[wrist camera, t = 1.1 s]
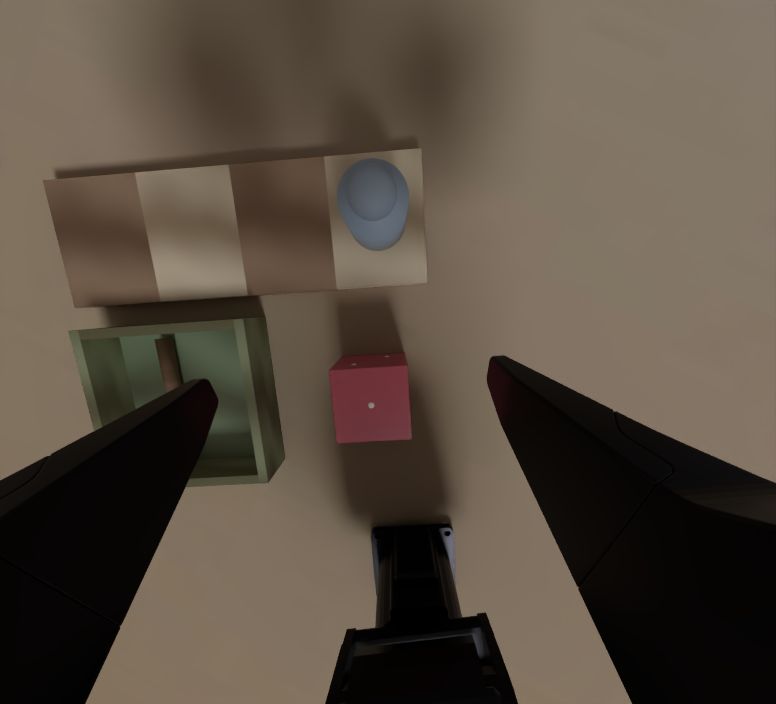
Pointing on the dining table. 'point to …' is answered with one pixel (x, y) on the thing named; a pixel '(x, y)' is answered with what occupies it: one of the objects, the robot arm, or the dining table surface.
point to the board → (226, 232)
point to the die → (371, 398)
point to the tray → (181, 364)
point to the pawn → (374, 203)
